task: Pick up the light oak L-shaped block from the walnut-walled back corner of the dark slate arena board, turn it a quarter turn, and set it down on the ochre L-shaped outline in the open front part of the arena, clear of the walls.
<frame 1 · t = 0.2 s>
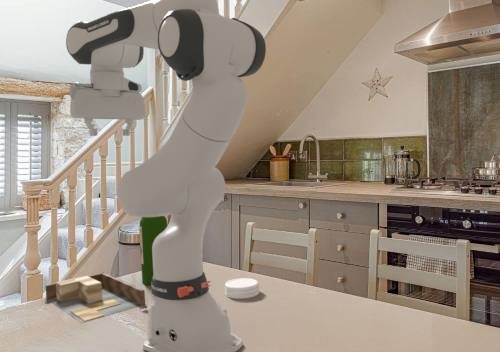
hand: (110, 135, 118), 47 cm above the table, fingers open, 8 cm apart
coaster: (242, 294, 126), on the table
oak L block: (87, 296, 126), point 1 cm above the table, touching arena
wine bottle: (156, 283, 139), on the table
arena: (94, 303, 122), on the table
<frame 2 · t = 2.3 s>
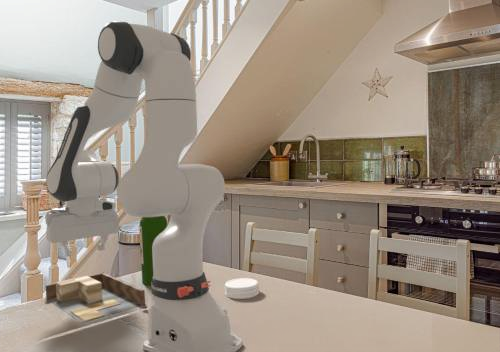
hand: (85, 252, 125), 14 cm above the table, fingers open, 8 cm apart
nothing on the table moved.
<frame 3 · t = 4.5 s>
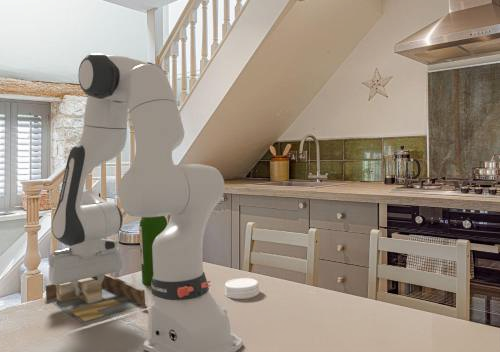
hand: (88, 292, 125), 2 cm above the table, fingers closed on oak L block, 4 cm apart
oak L block: (87, 296, 126), point 1 cm above the table, touching arena, gripper
everything else where it was.
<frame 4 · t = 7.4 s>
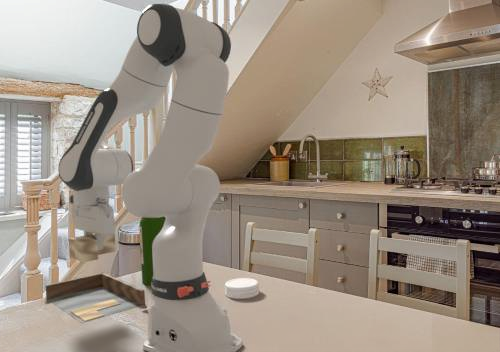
hand: (94, 248, 116), 17 cm above the table, fingers closed on oak L block, 4 cm apart
oak L block: (91, 254, 115), point 15 cm above the table, touching gripper
everything else where it was.
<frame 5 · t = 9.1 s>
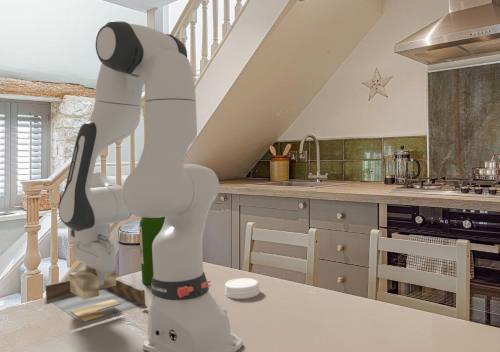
hand: (95, 282, 117), 7 cm above the table, fingers closed on oak L block, 4 cm apart
oak L block: (91, 288, 116), point 6 cm above the table, touching gripper
everything else where it was.
when the fingers open (4 cm above the table, at t = 10.6 s): oak L block drops 2 cm, resting on arena.
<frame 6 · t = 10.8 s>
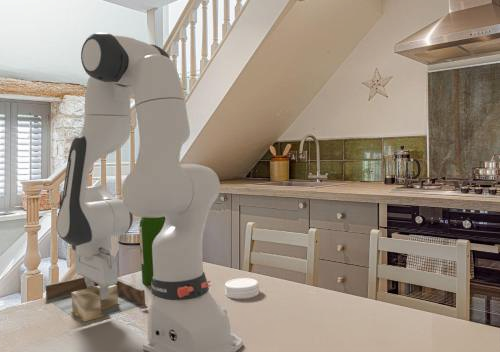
hand: (97, 295, 117), 4 cm above the table, fingers open, 6 cm apart
oak L block: (93, 307, 116), point 1 cm above the table, touching arena
everything else where it was.
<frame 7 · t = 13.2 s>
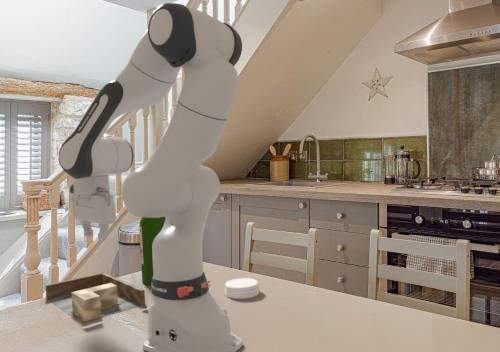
hand: (95, 238, 116), 20 cm above the table, fingers open, 8 cm apart
nothing on the table moved.
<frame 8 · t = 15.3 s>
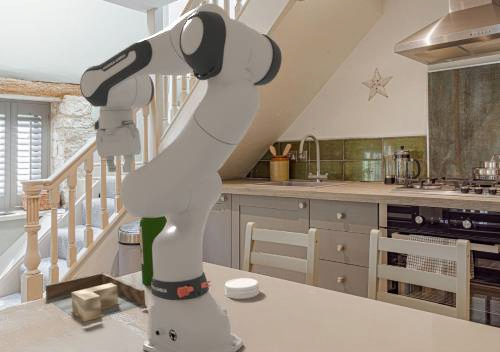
hand: (119, 172, 119), 37 cm above the table, fingers open, 8 cm apart
nothing on the table moved.
at the end: oak L block 0.0 cm from the target spot, point 0.8 cm above the table; oak L block tilted 0°; the gripper is holding nothing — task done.
